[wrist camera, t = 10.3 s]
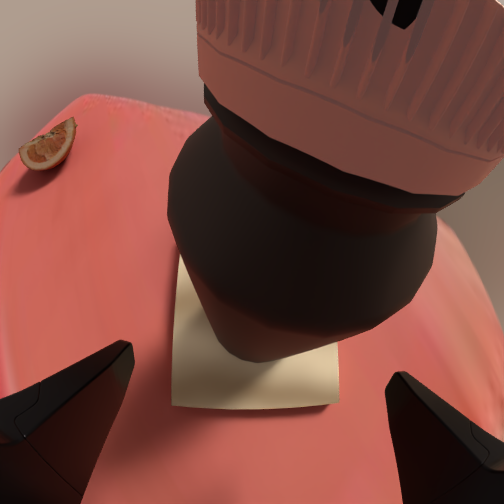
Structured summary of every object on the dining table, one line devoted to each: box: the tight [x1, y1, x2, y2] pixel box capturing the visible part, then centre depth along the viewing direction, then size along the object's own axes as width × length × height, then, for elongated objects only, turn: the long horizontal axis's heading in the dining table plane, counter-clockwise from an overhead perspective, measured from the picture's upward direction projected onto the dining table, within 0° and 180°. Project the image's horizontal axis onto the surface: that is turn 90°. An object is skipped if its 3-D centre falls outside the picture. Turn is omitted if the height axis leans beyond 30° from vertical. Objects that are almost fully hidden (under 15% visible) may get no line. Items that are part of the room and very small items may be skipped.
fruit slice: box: [19, 117, 78, 171], centre depth 25 cm, size 8×7×5 cm
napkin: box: [171, 255, 339, 409], centre depth 20 cm, size 14×12×2 cm
